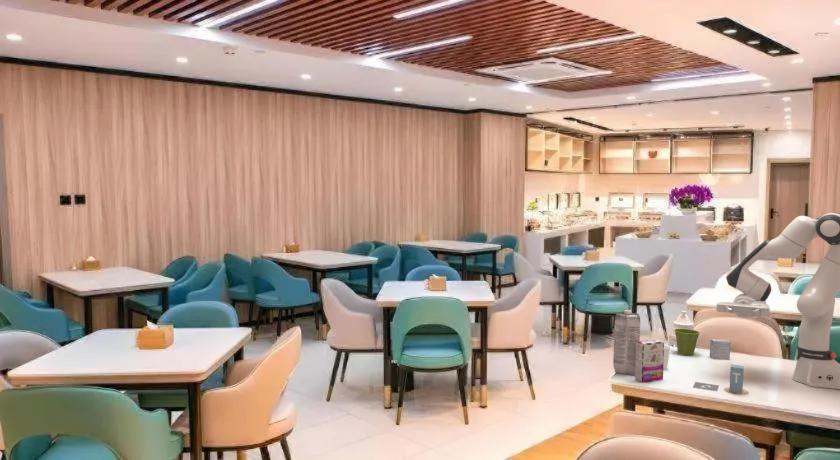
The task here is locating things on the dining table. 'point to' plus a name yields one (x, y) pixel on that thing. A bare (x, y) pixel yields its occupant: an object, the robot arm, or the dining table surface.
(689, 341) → the plant pot
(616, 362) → the juice carton
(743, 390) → the coaster
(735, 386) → the letter block
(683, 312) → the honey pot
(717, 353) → the medicine box
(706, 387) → the tile
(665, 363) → the white cup
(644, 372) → the candy bar box
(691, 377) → the dining table surface
